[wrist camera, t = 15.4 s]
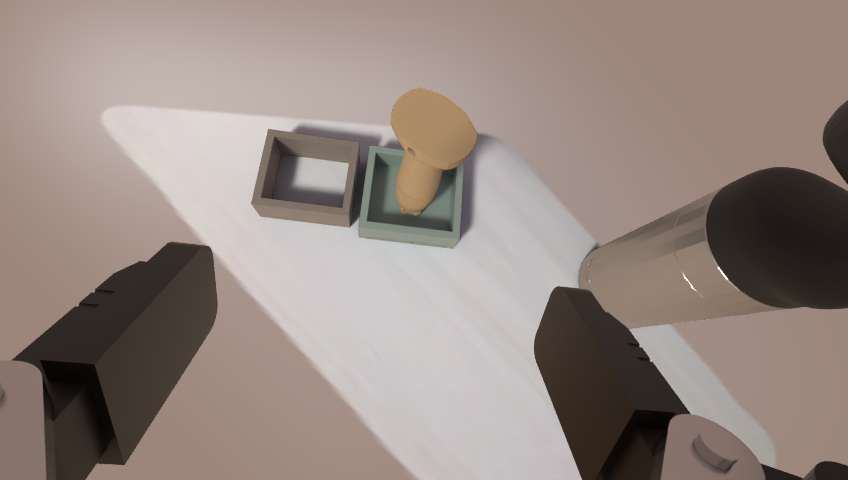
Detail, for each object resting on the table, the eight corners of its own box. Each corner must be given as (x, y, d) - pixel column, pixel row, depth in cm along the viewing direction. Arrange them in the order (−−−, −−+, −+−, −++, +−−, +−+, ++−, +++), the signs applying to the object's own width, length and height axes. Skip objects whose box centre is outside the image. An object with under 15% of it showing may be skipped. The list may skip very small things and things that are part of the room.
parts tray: (457, 172, 45) (464, 158, 42) (452, 248, 43) (459, 239, 40) (369, 160, 44) (369, 145, 41) (358, 237, 42) (358, 227, 38)
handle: (403, 169, 44) (422, 77, 30) (448, 207, 43) (489, 131, 29) (373, 199, 42) (378, 117, 28) (419, 239, 42) (448, 175, 28)
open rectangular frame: (359, 158, 44) (359, 142, 41) (349, 227, 42) (348, 215, 38) (275, 146, 43) (268, 128, 40) (260, 216, 41) (251, 203, 37)
